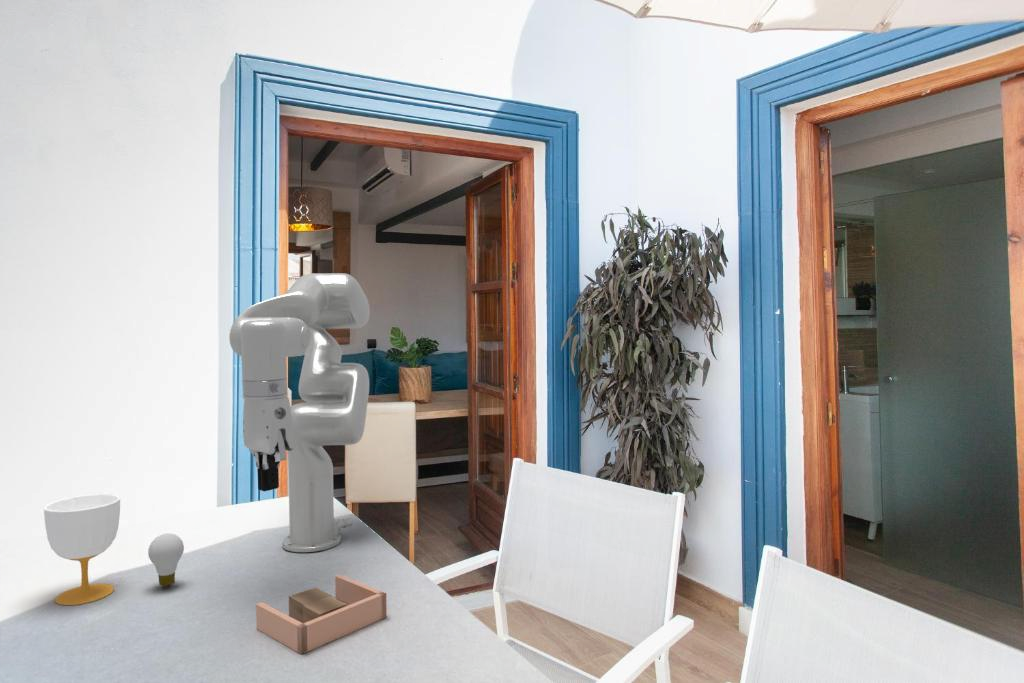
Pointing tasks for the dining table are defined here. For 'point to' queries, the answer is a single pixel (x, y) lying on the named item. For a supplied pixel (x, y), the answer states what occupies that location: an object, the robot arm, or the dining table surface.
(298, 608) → the walnut tile
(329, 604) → the walnut tile
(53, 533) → the cup
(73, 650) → the dining table surface
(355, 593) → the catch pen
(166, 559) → the light bulb
